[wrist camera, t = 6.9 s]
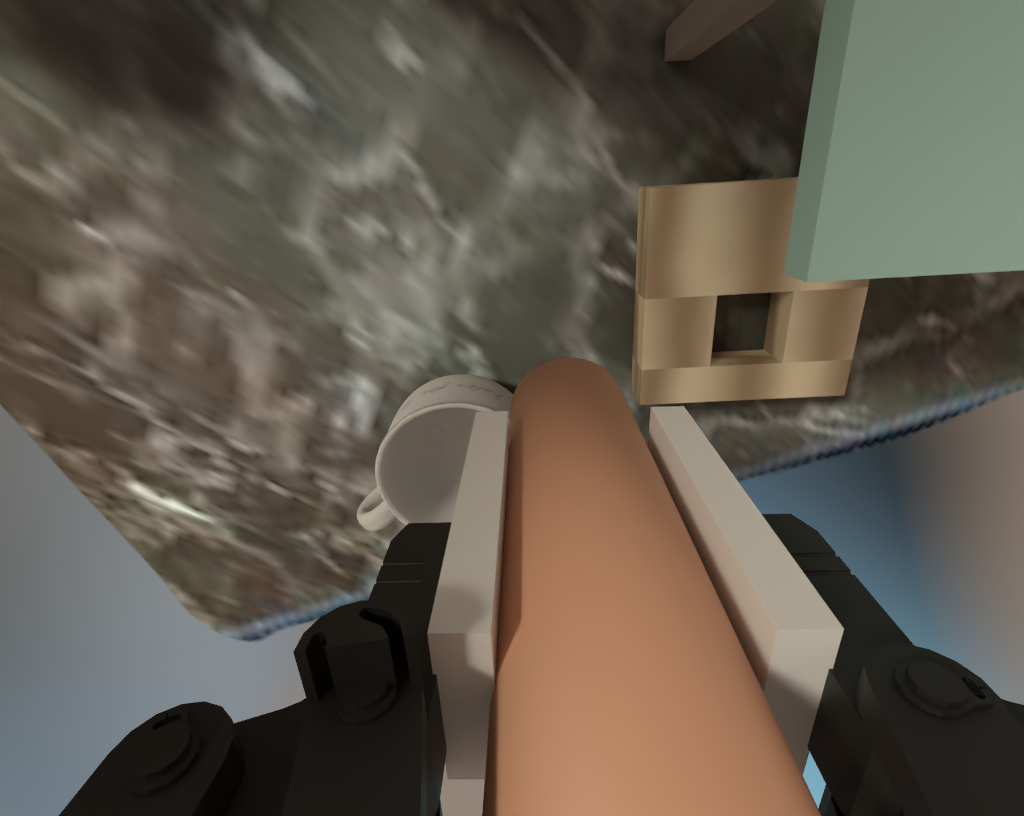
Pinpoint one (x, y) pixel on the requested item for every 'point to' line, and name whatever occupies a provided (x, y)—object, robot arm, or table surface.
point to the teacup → (428, 451)
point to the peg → (616, 633)
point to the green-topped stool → (900, 135)
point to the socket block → (727, 271)
